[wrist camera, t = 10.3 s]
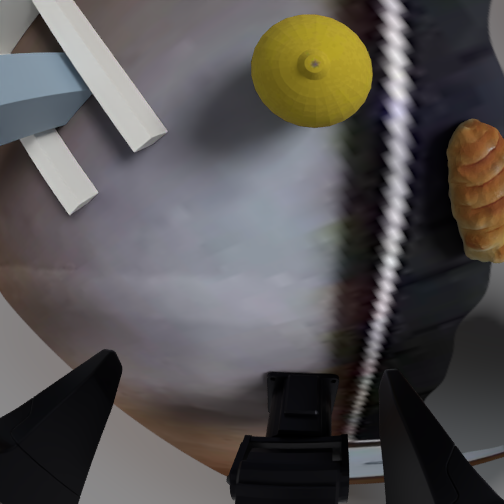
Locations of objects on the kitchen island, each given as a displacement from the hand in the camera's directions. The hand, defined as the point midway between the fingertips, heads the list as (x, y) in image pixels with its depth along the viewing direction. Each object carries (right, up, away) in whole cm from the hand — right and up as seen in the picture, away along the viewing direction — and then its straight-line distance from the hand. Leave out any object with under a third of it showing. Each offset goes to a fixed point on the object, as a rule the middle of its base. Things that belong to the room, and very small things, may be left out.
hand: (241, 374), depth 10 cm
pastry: (+16, +8, +8) cm, 20 cm away
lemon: (+4, +14, +7) cm, 16 cm away
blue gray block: (-13, +16, +9) cm, 22 cm away
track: (-13, +16, +9) cm, 22 cm away
